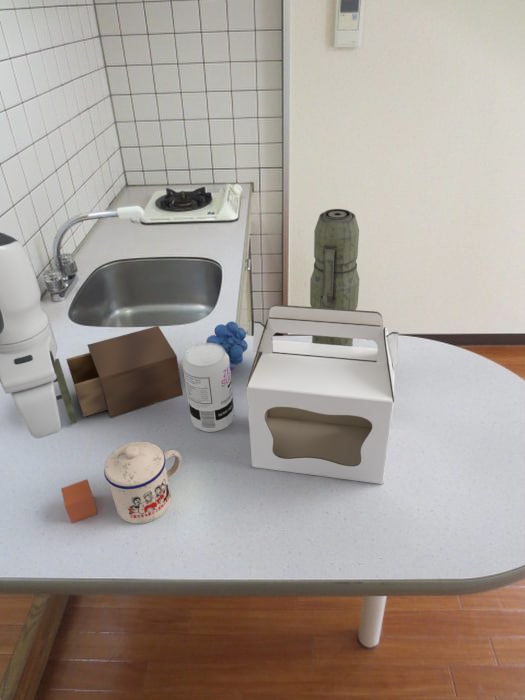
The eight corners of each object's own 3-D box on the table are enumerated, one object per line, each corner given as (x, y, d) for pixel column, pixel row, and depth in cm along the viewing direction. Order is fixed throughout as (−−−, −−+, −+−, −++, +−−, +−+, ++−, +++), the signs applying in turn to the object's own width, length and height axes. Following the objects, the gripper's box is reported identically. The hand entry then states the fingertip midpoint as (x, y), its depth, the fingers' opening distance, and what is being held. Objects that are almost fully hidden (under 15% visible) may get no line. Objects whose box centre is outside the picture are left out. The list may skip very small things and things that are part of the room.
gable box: (250, 467, 89) (239, 326, 73) (266, 416, 99) (259, 283, 83) (384, 485, 84) (404, 339, 68) (386, 429, 95) (403, 292, 79)
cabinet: (110, 418, 101) (100, 378, 95) (97, 382, 110) (87, 344, 105) (183, 394, 106) (176, 355, 100) (164, 362, 115) (158, 325, 110)
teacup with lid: (132, 536, 78) (116, 483, 72) (105, 500, 84) (89, 447, 78) (199, 494, 84) (190, 442, 78) (170, 463, 90) (159, 411, 84)
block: (71, 523, 81) (65, 506, 78) (67, 505, 84) (61, 488, 81) (97, 513, 82) (92, 496, 80) (93, 495, 85) (87, 478, 83)
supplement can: (187, 410, 101) (177, 346, 93) (228, 401, 103) (222, 337, 95) (195, 438, 95) (185, 372, 86) (239, 428, 97) (234, 361, 88)
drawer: (43, 433, 96) (31, 400, 92) (37, 398, 105) (25, 366, 101) (141, 402, 103) (134, 370, 98) (127, 371, 111) (120, 341, 107)
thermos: (355, 364, 112) (366, 202, 92) (349, 399, 102) (361, 227, 83) (313, 360, 114) (316, 200, 94) (304, 394, 104) (305, 225, 84)
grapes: (224, 392, 106) (219, 342, 99) (201, 379, 109) (194, 331, 103) (262, 364, 113) (259, 316, 106) (238, 354, 117) (235, 307, 110)
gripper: (-8, 317, 79) (19, 389, 87) (2, 392, 64) (33, 471, 71) (36, 307, 81) (58, 378, 89) (55, 376, 66) (81, 455, 74)
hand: (47, 420), depth 80 cm, fingers closed
